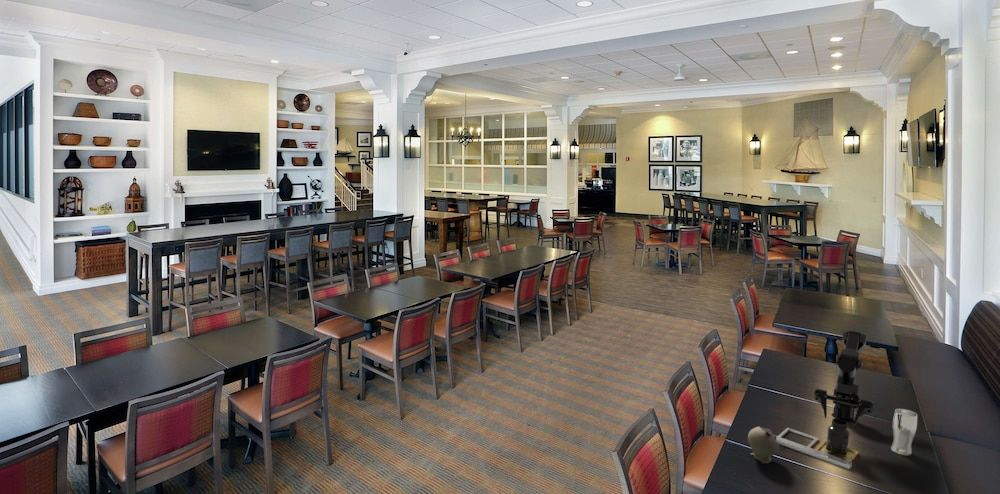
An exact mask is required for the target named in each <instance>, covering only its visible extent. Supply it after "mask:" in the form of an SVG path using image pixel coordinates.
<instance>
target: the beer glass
mask: <svg viewBox="0 0 1000 494" xmlns="http://www.w3.org/2000/svg"><path fill="white" fill-rule="evenodd" d="M917 427H918V414H917V413H916V412H914V411H913V410H909V409H906V408H905V409H904V408H895V410H894V415H893V418H892V433H893V441H892V444H891V447H890V449H891V451H892V452H894V453H896V454H898V455H901V456H911V455H912V454H913V453H912V443H913V440H914V438H915V435H916V433H917V432H916V431H917Z"/></svg>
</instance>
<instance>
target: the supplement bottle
mask: <svg viewBox="0 0 1000 494" xmlns="http://www.w3.org/2000/svg"><path fill="white" fill-rule="evenodd" d="M848 423H849V422H846V421H845V420H842V419H838V418H835V417H834V418H832V420H831V425H829V426H828V427H827V433H826V439H825V440H826V450H827V452H829V453H830V454H832V455H835V456H846V455H847V451H848V448H849V442H850V436H851V435H850V434H851V433H850V429H848V427H849V426H848V425H849V424H848Z"/></svg>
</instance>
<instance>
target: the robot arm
mask: <svg viewBox="0 0 1000 494" xmlns="http://www.w3.org/2000/svg"><path fill="white" fill-rule="evenodd" d="M841 338H842V339H841V341H842V342H843V348H844V349H842V350H840V353H839V354H837V358H836V362H835V364H836V366H837V377H836V378H837V379H836V386H835V388H834V390H833V394H829V393H828V391H827V390H826V389H822V388H815V389H814V395H813V396H814V398H813V399H814V400H815V401H817V403H818V404H820V406H821V409H822V412H823V416H824V417H823V418H824V419H827V410H828V409H827V408H828V407H827V400H829V401H832V403H833V404H834V406H833V413H831V416H833V417H834V419H835V418H838V419H842V420H845V421H846V422H847V423H850V422H853V426H856V425H857V423H858V422H859V420H860V418H862V417H863V416H864V415H868V414H872V413H873V407H874V402H873V401H872V400H869V399H866V398H861V397H860V395H859V385H858V384H856V383H855V382H856V375H857V374H856V371H858V370H860V369H862V367H863V362H862V359H861V358H860V353H862V352H863V351H864V347H865V346H866V344H867V335H865V334H863V333H862V332H860V331H856V330H852V329H851V330H850V329H849V330H847V331H843V332H842V337H841ZM855 409H857V411H856V413H855Z"/></svg>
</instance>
